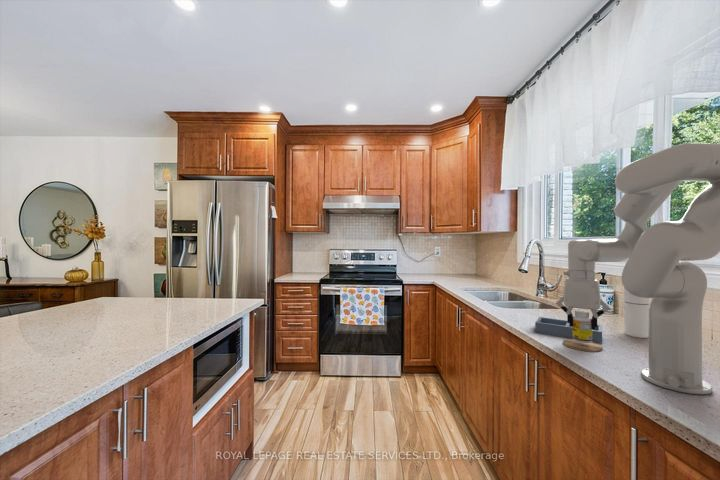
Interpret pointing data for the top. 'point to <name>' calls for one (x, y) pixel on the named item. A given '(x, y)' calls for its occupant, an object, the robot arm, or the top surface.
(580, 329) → the supplement bottle
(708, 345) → the top surface
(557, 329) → the parts caddy
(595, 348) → the cork trivet
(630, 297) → the cylindrical container
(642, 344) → the top surface
